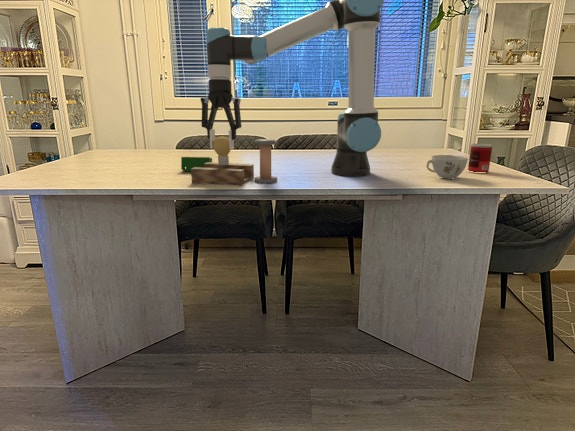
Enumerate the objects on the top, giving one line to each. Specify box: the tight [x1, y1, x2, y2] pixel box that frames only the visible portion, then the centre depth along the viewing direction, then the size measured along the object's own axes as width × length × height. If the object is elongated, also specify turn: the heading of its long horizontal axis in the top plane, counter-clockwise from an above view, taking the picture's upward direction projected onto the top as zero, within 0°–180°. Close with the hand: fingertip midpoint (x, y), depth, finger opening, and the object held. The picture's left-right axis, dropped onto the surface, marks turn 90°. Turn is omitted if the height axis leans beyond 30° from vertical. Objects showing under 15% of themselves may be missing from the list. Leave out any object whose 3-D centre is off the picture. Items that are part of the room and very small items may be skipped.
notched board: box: [190, 162, 255, 187], centre depth 143 cm, size 18×14×5 cm
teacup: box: [426, 154, 469, 179], centre depth 149 cm, size 15×12×8 cm
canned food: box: [467, 143, 493, 173], centre depth 161 cm, size 8×8×11 cm
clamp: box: [180, 156, 213, 173], centre depth 161 cm, size 12×6×9 cm, turn 80°
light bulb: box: [213, 135, 231, 166], centre depth 141 cm, size 6×6×10 cm
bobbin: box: [253, 138, 278, 185], centre depth 140 cm, size 8×8×14 cm
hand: (222, 148), depth 140 cm, fingers closed on light bulb, 6 cm apart
